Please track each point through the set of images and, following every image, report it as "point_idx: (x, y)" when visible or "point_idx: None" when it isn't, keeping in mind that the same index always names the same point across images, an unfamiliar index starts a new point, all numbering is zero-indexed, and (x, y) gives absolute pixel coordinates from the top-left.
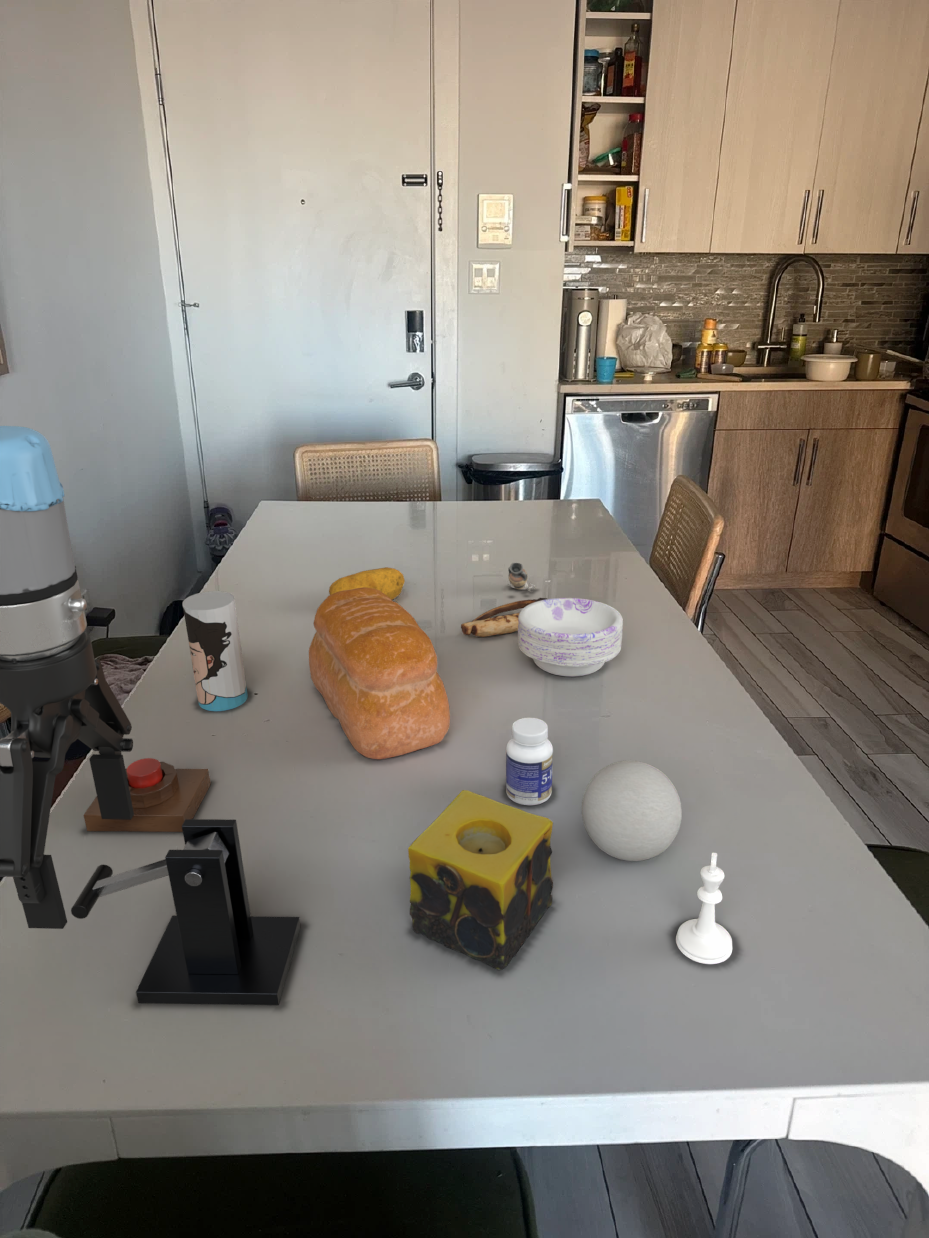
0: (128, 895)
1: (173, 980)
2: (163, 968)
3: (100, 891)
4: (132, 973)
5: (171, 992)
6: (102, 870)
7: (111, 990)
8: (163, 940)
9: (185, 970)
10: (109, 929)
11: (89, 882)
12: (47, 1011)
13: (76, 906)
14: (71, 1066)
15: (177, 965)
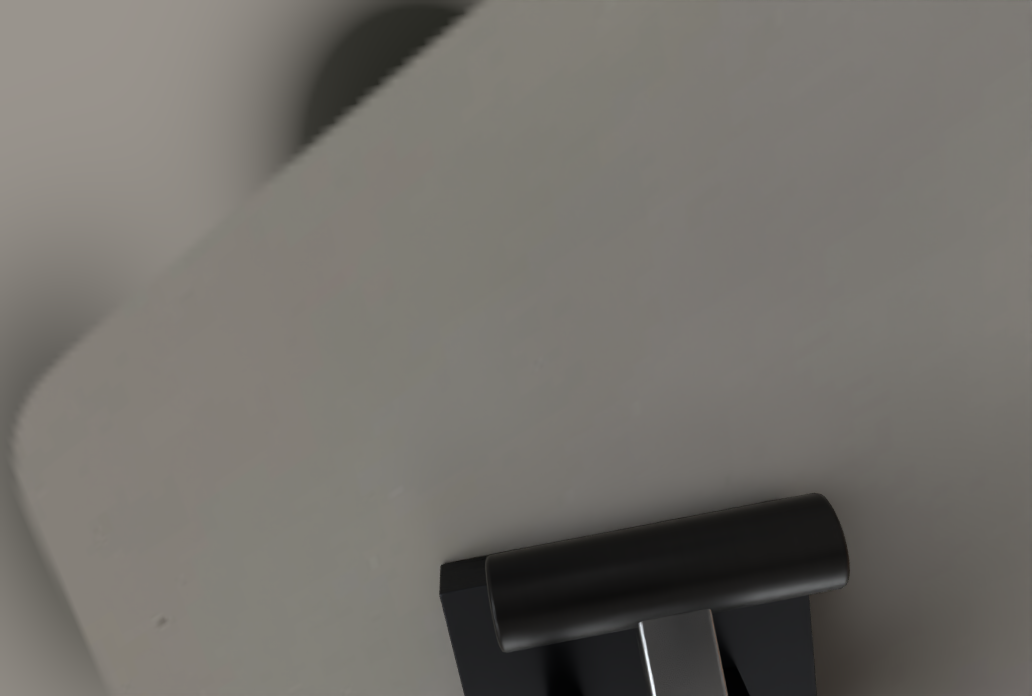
0: (937, 241)
1: (512, 674)
2: None
3: (640, 650)
4: (553, 478)
5: (464, 693)
6: (797, 586)
7: (470, 454)
8: None
9: (557, 690)
10: (744, 277)
11: (689, 579)
12: (332, 297)
13: (494, 623)
14: (169, 508)
15: (575, 655)
